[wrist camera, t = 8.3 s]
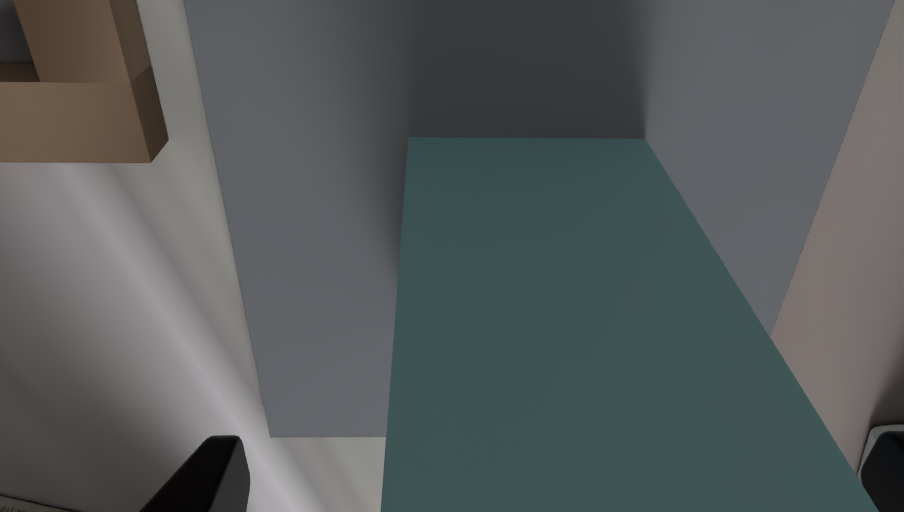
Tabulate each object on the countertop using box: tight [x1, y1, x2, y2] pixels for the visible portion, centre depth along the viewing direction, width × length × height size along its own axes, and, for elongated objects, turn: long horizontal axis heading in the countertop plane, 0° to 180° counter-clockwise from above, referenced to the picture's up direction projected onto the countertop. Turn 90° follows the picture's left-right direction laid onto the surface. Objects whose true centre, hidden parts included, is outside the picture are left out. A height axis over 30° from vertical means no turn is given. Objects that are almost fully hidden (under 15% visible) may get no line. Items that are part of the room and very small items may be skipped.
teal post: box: [381, 137, 879, 512], centre depth 10 cm, size 4×4×10 cm
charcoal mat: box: [184, 0, 895, 438], centre depth 14 cm, size 12×12×1 cm
